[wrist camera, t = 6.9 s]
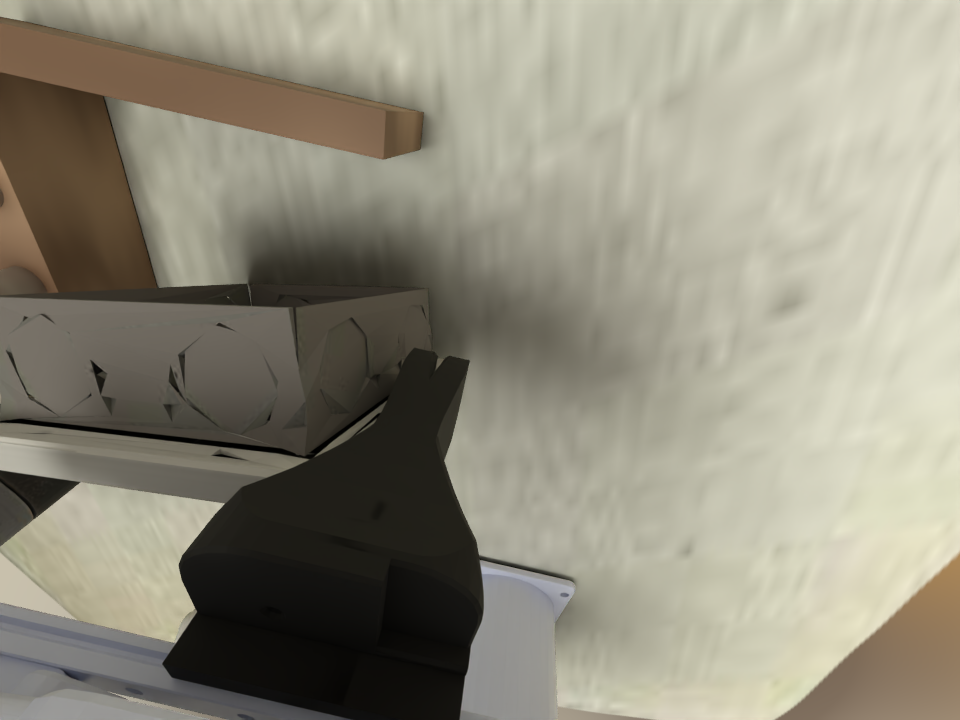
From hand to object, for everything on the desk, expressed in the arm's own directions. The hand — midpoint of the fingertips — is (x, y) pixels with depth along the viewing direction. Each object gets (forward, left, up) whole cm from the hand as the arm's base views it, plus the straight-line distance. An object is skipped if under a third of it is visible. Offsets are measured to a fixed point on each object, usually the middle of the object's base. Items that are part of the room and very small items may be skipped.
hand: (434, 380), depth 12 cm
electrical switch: (-1, +5, -4) cm, 7 cm away
